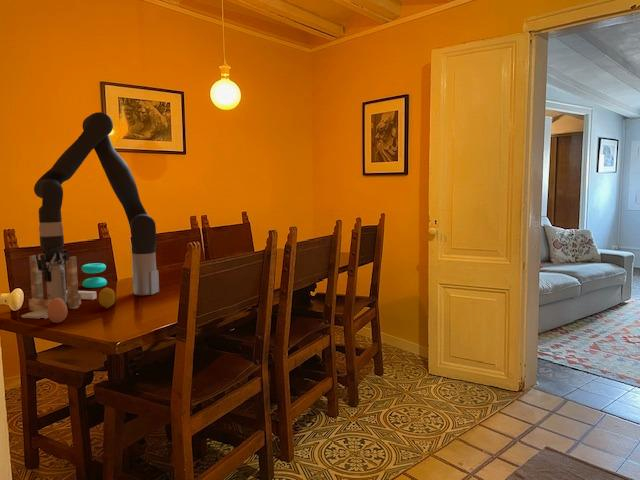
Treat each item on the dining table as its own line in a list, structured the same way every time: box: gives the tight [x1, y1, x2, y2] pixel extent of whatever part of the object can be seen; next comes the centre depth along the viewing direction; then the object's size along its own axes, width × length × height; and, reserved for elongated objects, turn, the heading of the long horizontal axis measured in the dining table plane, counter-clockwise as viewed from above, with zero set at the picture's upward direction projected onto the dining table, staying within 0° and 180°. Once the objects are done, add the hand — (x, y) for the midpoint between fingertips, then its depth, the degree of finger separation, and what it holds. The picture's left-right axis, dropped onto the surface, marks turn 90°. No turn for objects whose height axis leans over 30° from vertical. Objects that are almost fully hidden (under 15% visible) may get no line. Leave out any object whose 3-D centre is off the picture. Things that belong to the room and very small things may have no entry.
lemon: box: [98, 286, 116, 309], centre depth 165 cm, size 6×6×8 cm
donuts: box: [81, 262, 108, 289], centre depth 203 cm, size 10×10×10 cm
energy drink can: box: [46, 263, 67, 303], centre depth 166 cm, size 6×6×15 cm
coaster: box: [20, 309, 49, 320], centre depth 157 cm, size 9×9×1 cm
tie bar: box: [66, 289, 98, 300], centre depth 181 cm, size 14×2×3 cm, turn 81°
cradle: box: [28, 254, 82, 312], centre depth 166 cm, size 17×12×19 cm
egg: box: [47, 298, 69, 324], centre depth 147 cm, size 6×6×8 cm
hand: (54, 279), depth 166 cm, fingers closed on energy drink can, 6 cm apart
